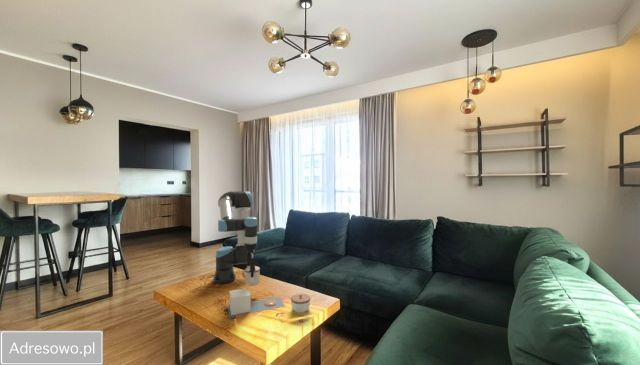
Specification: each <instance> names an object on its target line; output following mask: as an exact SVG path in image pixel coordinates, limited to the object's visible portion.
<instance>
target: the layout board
mask: <svg viewBox="0 0 640 365" xmlns="http://www.w3.org/2000/svg"><path fill="white" fill-rule="evenodd" d="M284 307H286V305H285V304H284V302H283V300H282V299H281V297H280V296H277V297H271V298H265V299H260V300H253V301H251V312H246V313H241V314H236V315H231V312H230V305H228V306H227V312H228V319H229V320H233V319H236V318H237V316H238V317H239V316H243V315H248V314H252V313H258V312H263V311H269V310H274V309H278V308H284Z"/></svg>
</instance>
